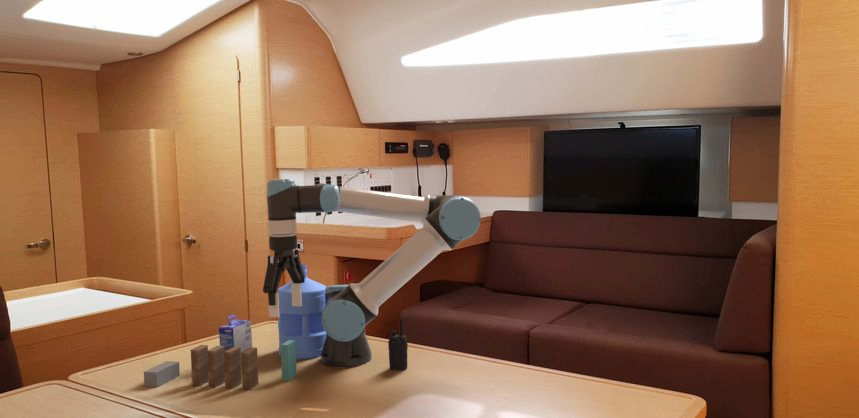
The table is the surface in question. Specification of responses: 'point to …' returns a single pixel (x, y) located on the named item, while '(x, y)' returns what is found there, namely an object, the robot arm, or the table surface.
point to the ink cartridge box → (236, 334)
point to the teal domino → (288, 360)
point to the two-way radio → (398, 350)
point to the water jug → (303, 318)
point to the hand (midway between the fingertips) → (286, 311)
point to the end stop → (161, 374)
